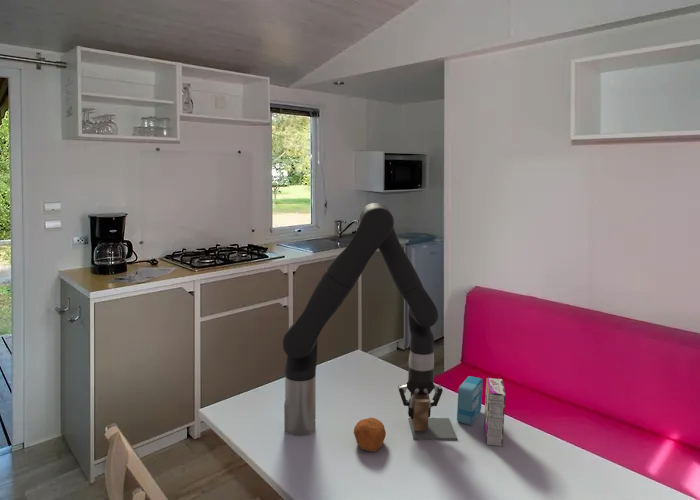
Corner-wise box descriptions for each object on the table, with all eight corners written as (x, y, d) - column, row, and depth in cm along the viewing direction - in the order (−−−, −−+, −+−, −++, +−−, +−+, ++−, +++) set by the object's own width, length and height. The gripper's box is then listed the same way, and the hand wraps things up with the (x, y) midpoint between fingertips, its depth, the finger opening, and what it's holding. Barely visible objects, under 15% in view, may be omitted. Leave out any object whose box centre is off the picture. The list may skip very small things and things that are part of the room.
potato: (347, 450, 144) (347, 426, 143) (361, 431, 155) (361, 408, 153) (378, 457, 141) (379, 432, 140) (390, 438, 151) (391, 414, 150)
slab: (414, 430, 152) (415, 399, 151) (410, 415, 161) (411, 386, 160) (427, 430, 152) (429, 399, 151) (423, 415, 161) (424, 386, 160)
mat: (413, 439, 151) (413, 437, 151) (408, 419, 162) (408, 417, 162) (457, 439, 151) (457, 437, 151) (448, 419, 163) (448, 418, 163)
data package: (470, 426, 159) (472, 390, 157) (456, 423, 161) (458, 387, 159) (481, 411, 169) (483, 377, 167) (467, 407, 171) (469, 374, 169)
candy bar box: (482, 426, 159) (486, 377, 156) (499, 428, 158) (502, 378, 155) (485, 445, 148) (488, 392, 145) (502, 447, 147) (506, 394, 144)
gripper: (399, 369, 150) (397, 423, 153) (447, 370, 150) (444, 424, 153) (396, 360, 157) (394, 411, 160) (442, 360, 157) (439, 412, 160)
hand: (419, 417), depth 156 cm, fingers closed on slab, 4 cm apart
